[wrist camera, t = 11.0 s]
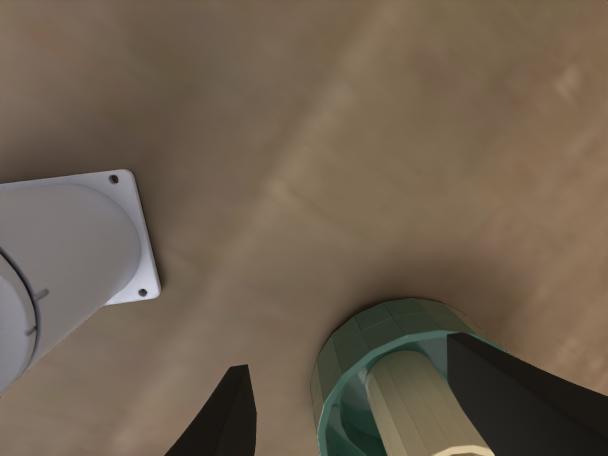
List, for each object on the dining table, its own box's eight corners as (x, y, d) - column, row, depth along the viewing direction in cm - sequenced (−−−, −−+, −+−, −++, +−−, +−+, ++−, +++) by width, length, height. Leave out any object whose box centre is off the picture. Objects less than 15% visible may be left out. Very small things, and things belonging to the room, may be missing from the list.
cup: (364, 417, 23) (403, 538, 16) (365, 353, 22) (407, 451, 15) (435, 410, 24) (505, 525, 16) (439, 346, 22) (517, 440, 15)
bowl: (320, 463, 24) (329, 530, 20) (300, 309, 21) (305, 350, 17) (484, 436, 25) (527, 496, 21) (487, 283, 22) (538, 315, 18)
